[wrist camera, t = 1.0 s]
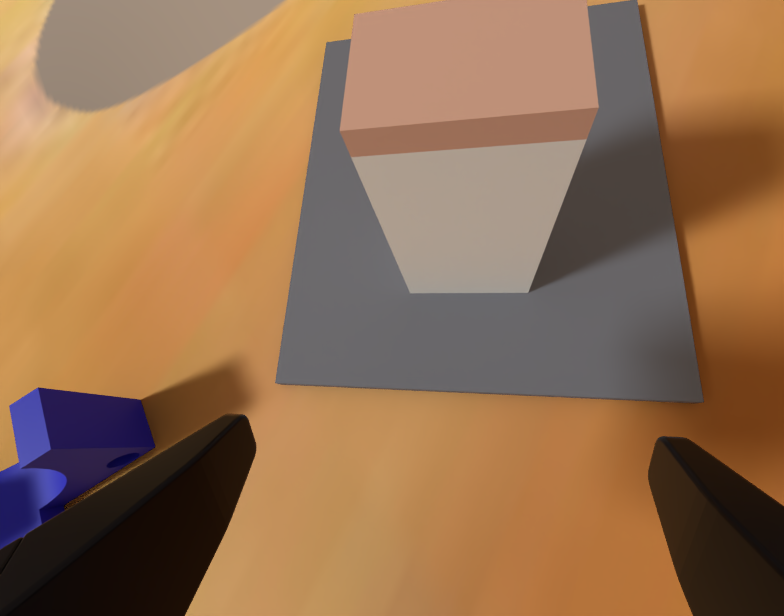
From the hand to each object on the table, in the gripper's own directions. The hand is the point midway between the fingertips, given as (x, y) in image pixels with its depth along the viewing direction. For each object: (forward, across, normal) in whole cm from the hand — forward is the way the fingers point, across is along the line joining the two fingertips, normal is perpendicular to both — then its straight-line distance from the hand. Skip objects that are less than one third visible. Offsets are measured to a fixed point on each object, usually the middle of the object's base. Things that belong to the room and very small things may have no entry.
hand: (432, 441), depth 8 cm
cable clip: (+6, +22, +12) cm, 26 cm away
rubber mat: (+19, -1, -2) cm, 19 cm away
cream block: (+15, 0, +1) cm, 15 cm away
